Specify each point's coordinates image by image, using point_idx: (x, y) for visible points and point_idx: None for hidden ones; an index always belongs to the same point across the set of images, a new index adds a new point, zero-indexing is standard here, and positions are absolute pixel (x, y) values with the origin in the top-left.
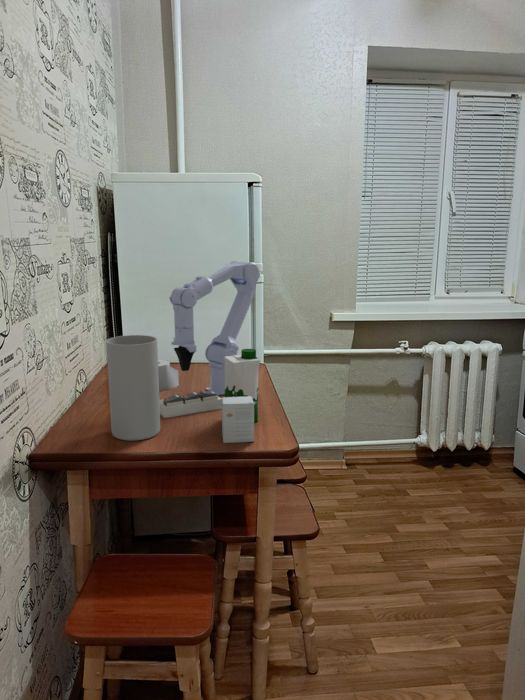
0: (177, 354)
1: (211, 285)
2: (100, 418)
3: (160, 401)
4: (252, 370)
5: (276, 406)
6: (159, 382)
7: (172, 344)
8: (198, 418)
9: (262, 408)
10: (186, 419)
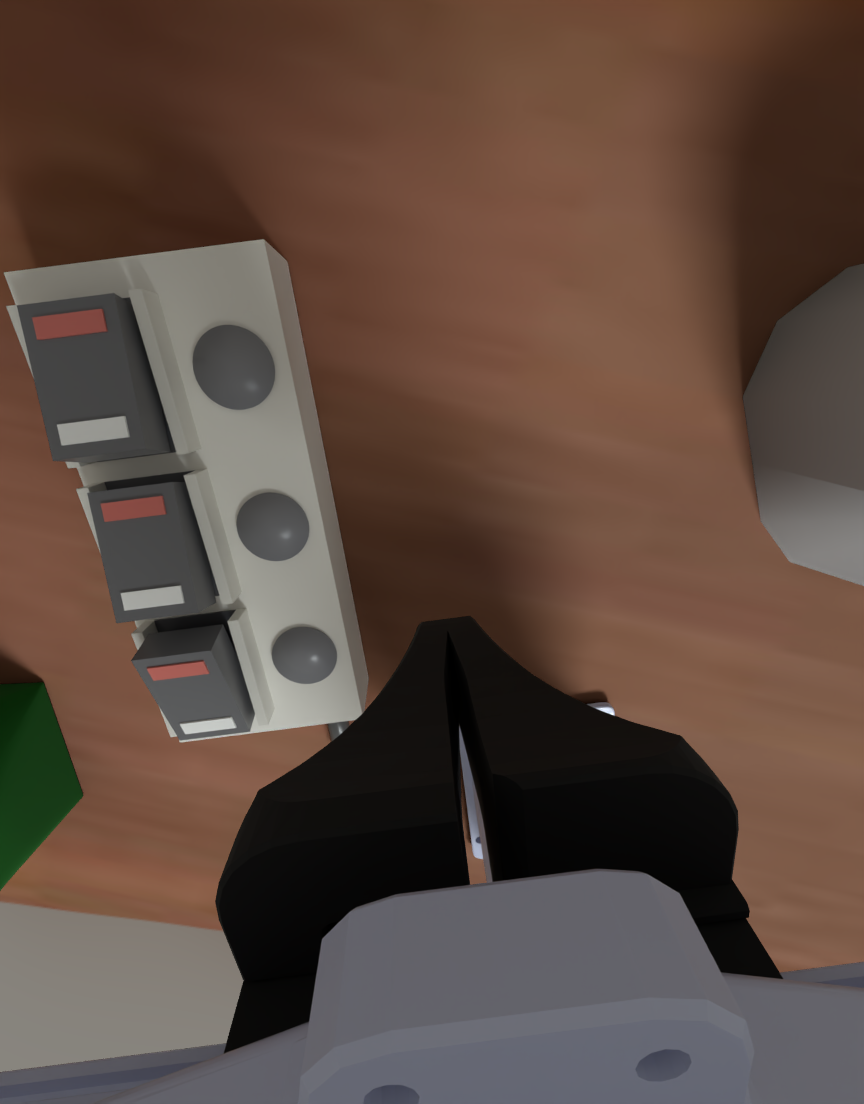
0: (524, 718)
1: None
2: None
3: (212, 281)
4: None
5: (184, 924)
6: (798, 399)
7: (414, 905)
8: (38, 527)
9: (166, 868)
10: (25, 446)
